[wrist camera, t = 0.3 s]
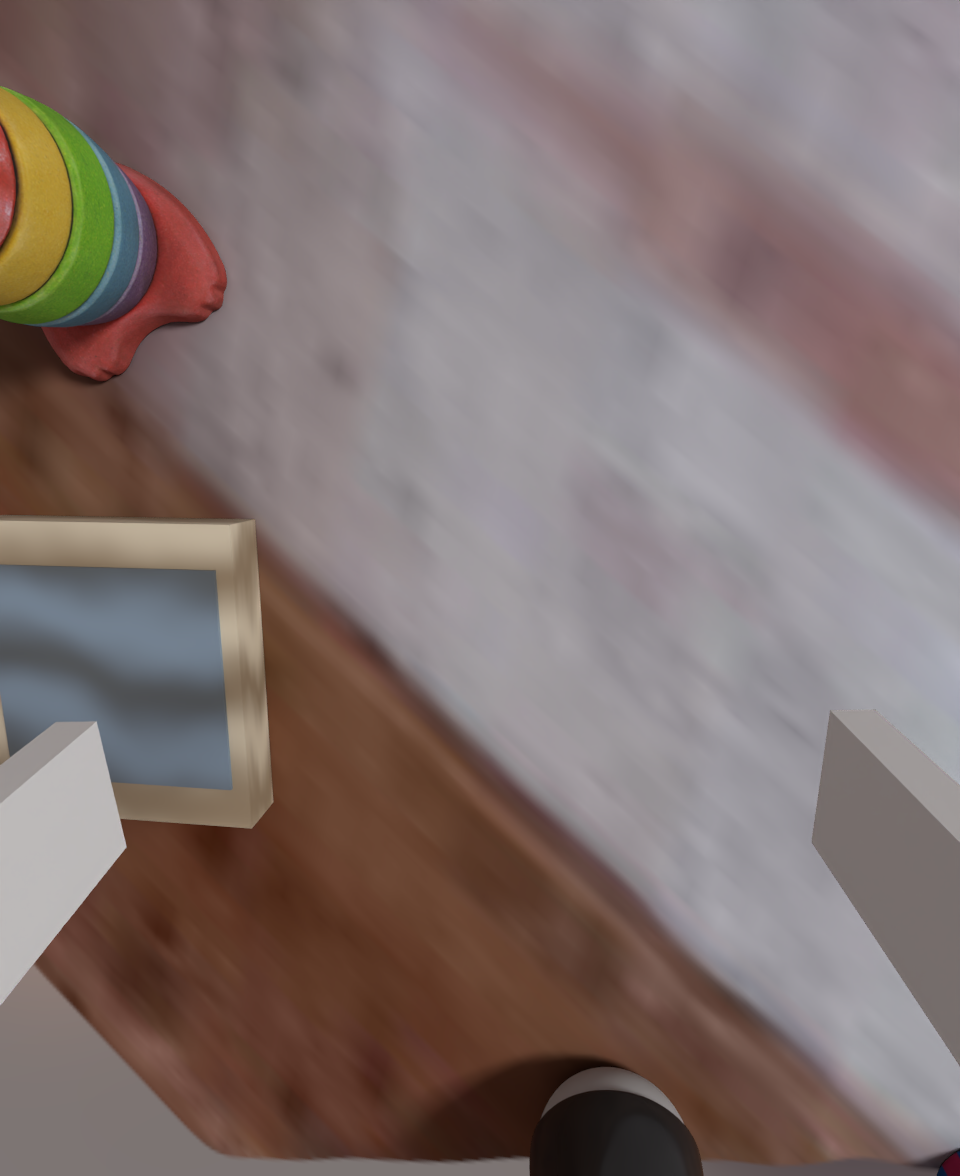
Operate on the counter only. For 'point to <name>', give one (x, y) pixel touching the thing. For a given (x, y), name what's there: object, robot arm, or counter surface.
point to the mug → (951, 1166)
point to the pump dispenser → (612, 1130)
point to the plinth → (142, 657)
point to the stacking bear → (93, 244)
